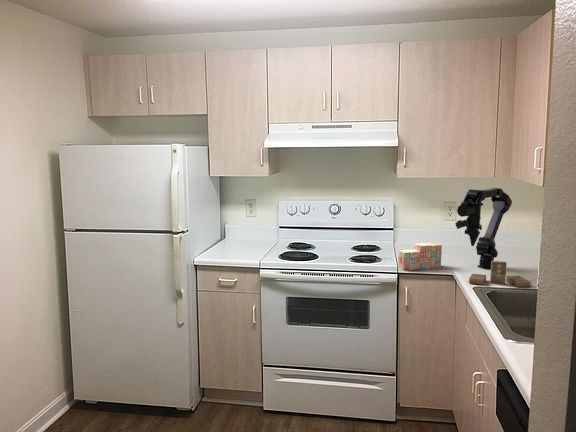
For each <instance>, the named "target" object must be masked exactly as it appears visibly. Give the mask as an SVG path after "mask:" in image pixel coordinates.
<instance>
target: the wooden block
mask: <svg viewBox="0 0 576 432" xmlns="http://www.w3.org/2000/svg"><path fill="white" fill-rule="evenodd" d="M486 281H487V275H486V274H482V273H481V274H480V273H479V274H478V273H472V274H471V275H470V276H469V278H468V284H475V285H481V286H483V285H484V284H485V283H486Z"/></svg>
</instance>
